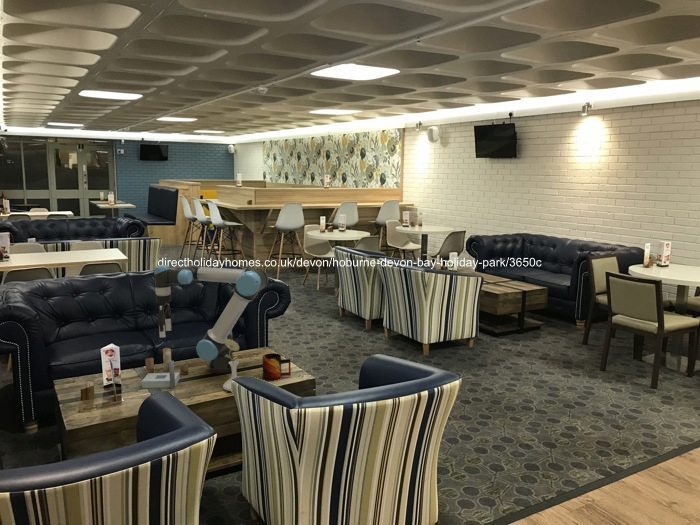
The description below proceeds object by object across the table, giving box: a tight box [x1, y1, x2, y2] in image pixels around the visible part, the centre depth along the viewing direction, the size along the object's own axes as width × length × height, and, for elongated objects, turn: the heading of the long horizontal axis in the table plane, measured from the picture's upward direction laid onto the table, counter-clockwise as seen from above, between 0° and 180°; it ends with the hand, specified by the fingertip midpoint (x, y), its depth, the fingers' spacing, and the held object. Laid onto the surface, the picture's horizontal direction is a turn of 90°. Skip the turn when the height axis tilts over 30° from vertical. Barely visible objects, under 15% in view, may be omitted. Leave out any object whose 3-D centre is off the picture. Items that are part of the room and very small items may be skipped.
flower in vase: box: [222, 339, 240, 392], centre depth 277 cm, size 13×11×25 cm
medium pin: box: [145, 357, 155, 376], centre depth 298 cm, size 4×4×9 cm
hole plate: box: [141, 360, 181, 390], centre depth 284 cm, size 17×15×14 cm
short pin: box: [179, 363, 189, 377], centre depth 299 cm, size 4×4×5 cm
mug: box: [261, 352, 292, 382], centre depth 295 cm, size 10×14×12 cm
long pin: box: [162, 347, 172, 373], centre depth 299 cm, size 4×4×14 cm
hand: (165, 333), depth 296 cm, fingers open, 13 cm apart
